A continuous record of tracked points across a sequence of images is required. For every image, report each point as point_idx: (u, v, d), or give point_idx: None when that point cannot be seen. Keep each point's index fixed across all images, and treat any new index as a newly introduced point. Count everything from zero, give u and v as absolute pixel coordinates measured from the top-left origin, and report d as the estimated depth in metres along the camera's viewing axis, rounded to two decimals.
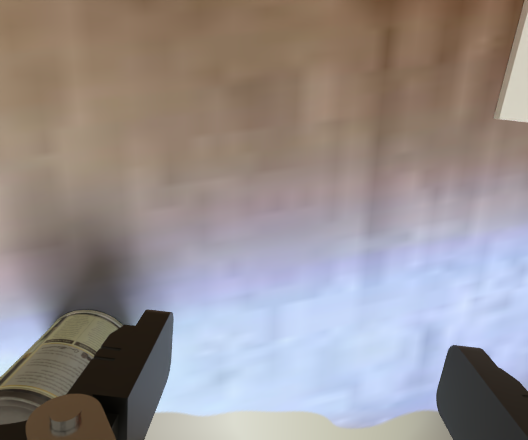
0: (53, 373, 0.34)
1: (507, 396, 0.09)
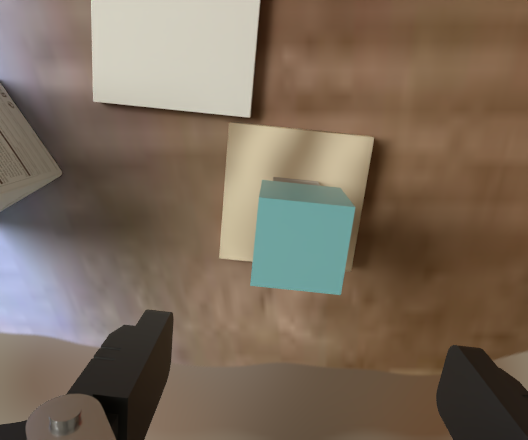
0: None
1: (507, 396, 0.09)
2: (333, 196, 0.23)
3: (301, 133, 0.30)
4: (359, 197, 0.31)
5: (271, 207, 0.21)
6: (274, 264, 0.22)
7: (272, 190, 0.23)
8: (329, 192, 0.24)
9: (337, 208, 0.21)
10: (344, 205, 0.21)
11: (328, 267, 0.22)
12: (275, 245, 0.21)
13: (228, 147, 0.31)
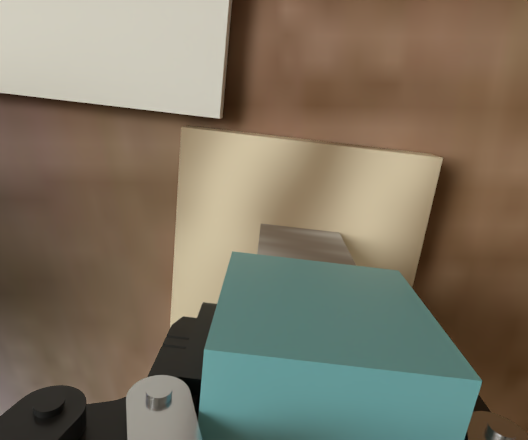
0: None
1: None
2: (399, 315, 0.09)
3: (312, 148, 0.17)
4: (411, 260, 0.18)
5: (240, 376, 0.07)
6: None
7: (249, 300, 0.09)
8: (383, 294, 0.10)
9: (430, 383, 0.07)
10: (448, 371, 0.07)
11: None
12: None
13: (180, 171, 0.17)
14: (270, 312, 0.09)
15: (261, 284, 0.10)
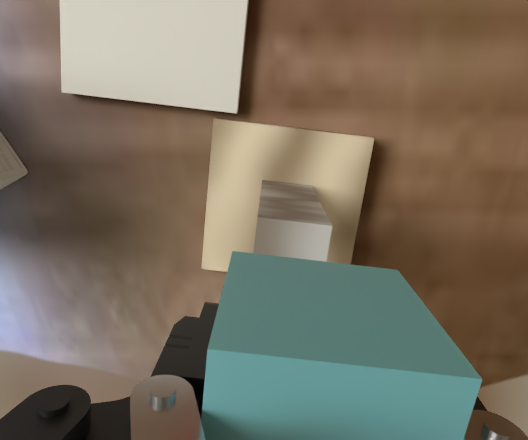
0: None
1: None
2: (399, 314, 0.09)
3: (293, 132, 0.27)
4: (357, 204, 0.28)
5: (243, 375, 0.07)
6: None
7: (250, 299, 0.09)
8: (383, 293, 0.10)
9: (431, 381, 0.07)
10: (449, 370, 0.07)
11: None
12: None
13: (212, 146, 0.28)
14: (272, 311, 0.09)
15: (262, 284, 0.10)
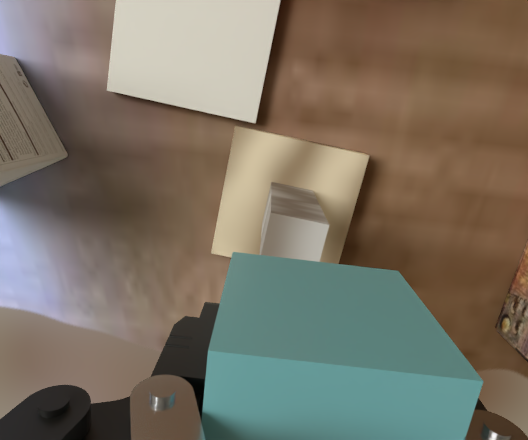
0: None
1: None
2: (400, 316, 0.09)
3: (302, 144, 0.32)
4: (349, 209, 0.33)
5: (244, 377, 0.07)
6: None
7: (251, 301, 0.09)
8: (383, 295, 0.10)
9: (431, 383, 0.07)
10: (449, 372, 0.07)
11: None
12: None
13: (232, 149, 0.32)
14: (272, 313, 0.09)
15: (262, 285, 0.10)
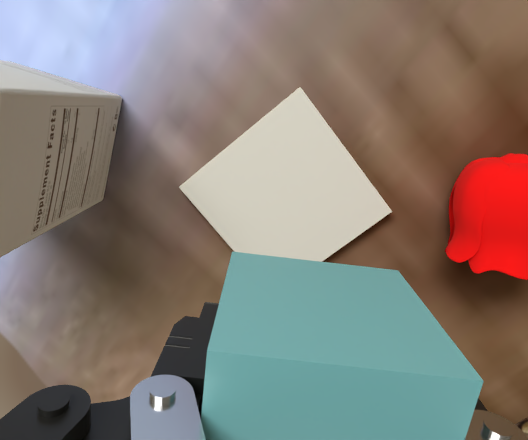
0: None
1: None
2: (400, 315, 0.09)
3: None
4: None
5: (243, 377, 0.07)
6: None
7: (250, 300, 0.09)
8: (383, 294, 0.10)
9: (431, 383, 0.07)
10: (449, 371, 0.07)
11: None
12: None
13: None
14: (272, 313, 0.09)
15: (262, 284, 0.10)
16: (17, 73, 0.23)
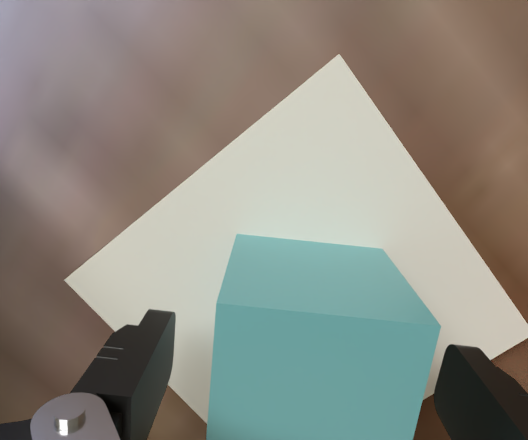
0: None
1: (504, 394, 0.09)
2: (379, 281, 0.11)
3: None
4: None
5: (246, 325, 0.09)
6: None
7: (252, 269, 0.11)
8: (367, 266, 0.12)
9: (399, 328, 0.09)
10: (414, 319, 0.09)
11: None
12: (256, 403, 0.10)
13: None
14: (269, 278, 0.10)
15: (262, 258, 0.12)
16: None
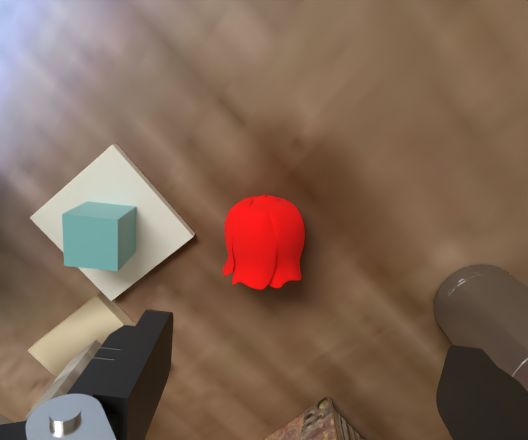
0: None
1: (507, 396, 0.09)
2: (117, 212, 0.38)
3: None
4: None
5: (70, 219, 0.36)
6: (76, 253, 0.37)
7: (80, 209, 0.38)
8: (120, 209, 0.39)
9: (107, 220, 0.36)
10: (112, 218, 0.36)
11: (108, 254, 0.37)
12: (75, 241, 0.37)
13: (84, 306, 0.43)
14: (83, 210, 0.37)
15: (87, 207, 0.39)
16: None
